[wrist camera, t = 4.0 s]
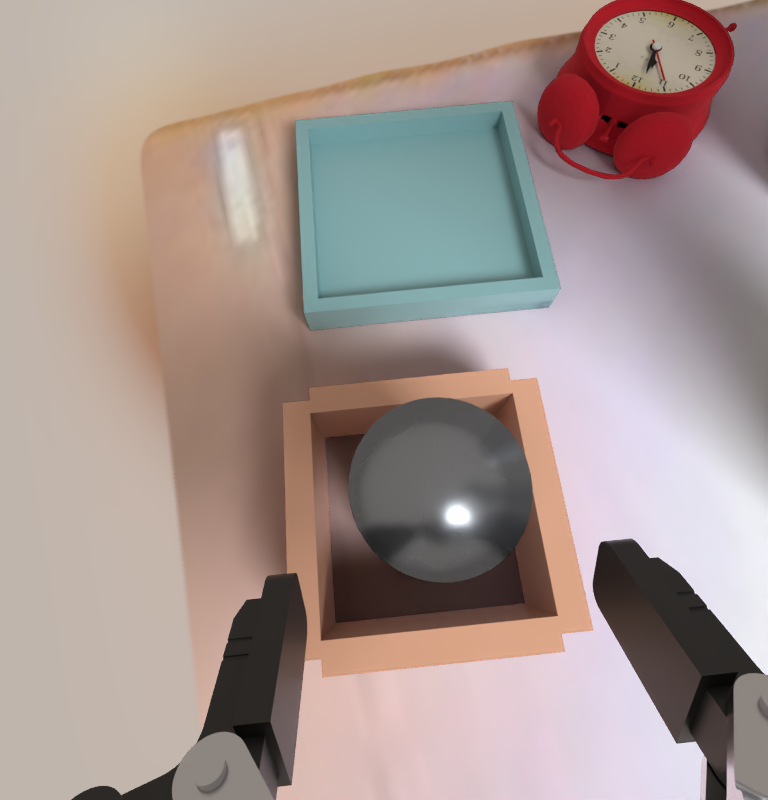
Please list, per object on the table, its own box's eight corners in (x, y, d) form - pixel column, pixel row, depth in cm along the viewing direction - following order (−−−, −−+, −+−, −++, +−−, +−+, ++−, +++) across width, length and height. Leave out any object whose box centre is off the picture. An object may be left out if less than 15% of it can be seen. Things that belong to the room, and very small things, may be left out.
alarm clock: (768, 17, 29) (735, 117, 22) (699, 118, 34) (655, 224, 27) (614, -33, 31) (538, 44, 24) (572, 70, 36) (500, 157, 29)
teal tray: (505, 128, 31) (512, 100, 29) (548, 307, 26) (560, 288, 24) (301, 147, 31) (295, 120, 29) (310, 330, 26) (303, 312, 24)
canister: (460, 461, 23) (513, 389, 13) (476, 562, 22) (550, 572, 11) (365, 471, 23) (342, 405, 13) (373, 573, 22) (355, 592, 11)
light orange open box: (509, 397, 25) (534, 365, 20) (555, 628, 21) (597, 648, 17) (301, 418, 24) (282, 390, 20) (311, 654, 21) (289, 680, 16)
